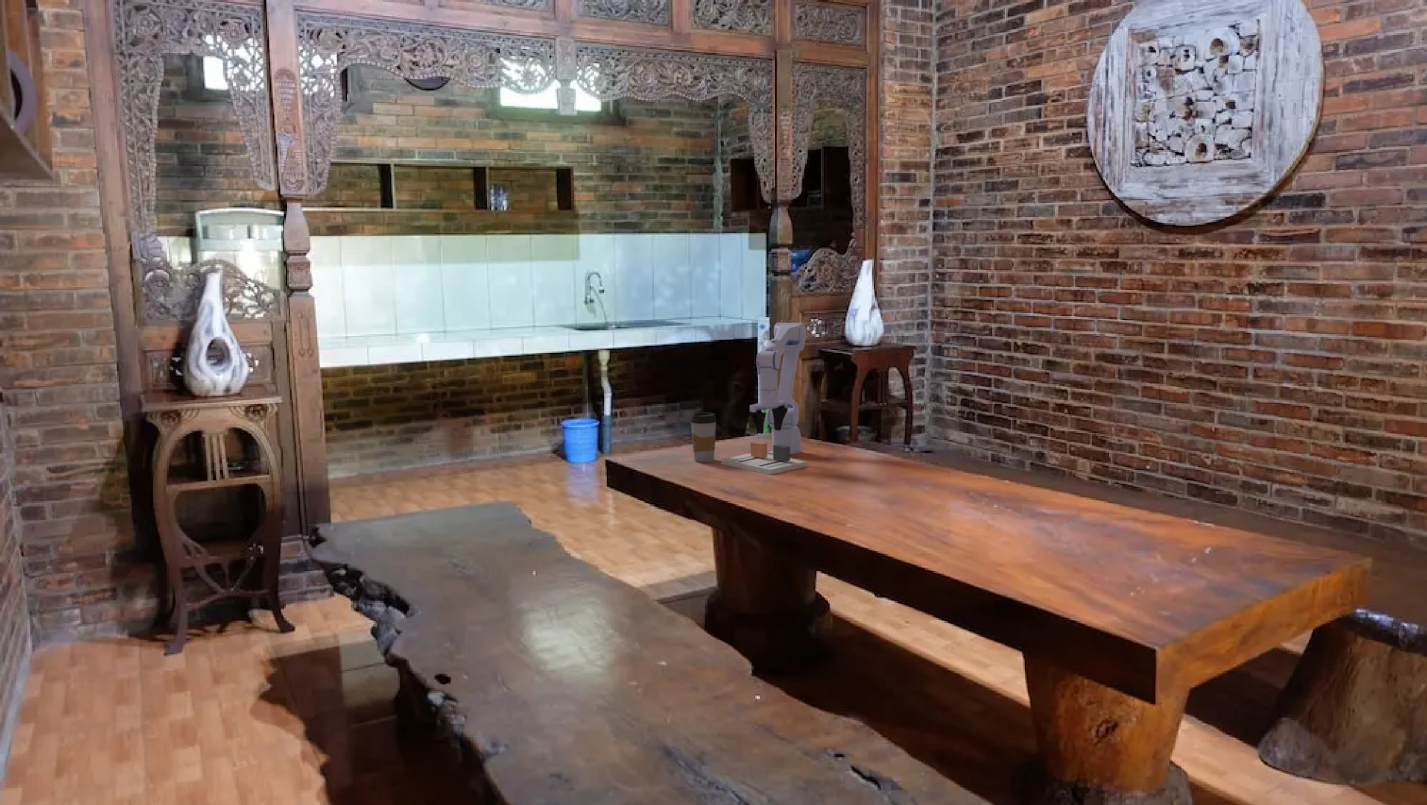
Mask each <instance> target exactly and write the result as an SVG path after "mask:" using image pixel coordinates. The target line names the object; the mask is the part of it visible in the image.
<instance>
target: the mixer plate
mask: <svg viewBox="0 0 1427 805" xmlns="http://www.w3.org/2000/svg"><path fill="white" fill-rule="evenodd" d="M720 464H721V465H723V466H728V467H733V468H738V469H743V470H747V471H751V472H755V473H756V472H757V473H761V474H765V475H775V474H779V473H783V472H784V473H785V472H787V471H791V470H792V471H793V470H797V469H801V468H805V467H808V461H805V460H801V459H795V458H791V457H790V461H786V462H784V461H779V460H774V459H773V454H768V453H767V457H765V458H759V457H754V456H751V452H750V453H746V454H741V455H735V456H731V457H725V458H721V459H720Z"/></svg>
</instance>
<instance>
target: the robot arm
mask: <svg viewBox="0 0 1427 805" xmlns="http://www.w3.org/2000/svg"><path fill="white" fill-rule="evenodd" d="M773 337H774V338H771V340H768V342H767V344H766V345H765V347H764V350H760V351H759V352H758V353H757V354H756V360H755V361H756V362H755V364H756V368H757V375H758V383H759V385H758V386H759V391H758V392H759V394H758V395H759V401H758V403H755V404H750V405H749V415H750V416H751V418H752V420H753V423H754V425H755V430H756V433H757V434H760V435H763V434H764V433H765V432H764V431H765V421H766V423H767V424H768V425H769V427H770V428H771V450H767V454H771V455H773V446H774V445H778V444H779V445H784V446H790V456H793V455H796V454H799V453H803V450H802V446H801V445H802V444H801V442H802V441H801V439H802V438H801V437H802V435H801V430H800V428H799V426H797V425H798V423H799V420H800V419H799V418H800V414H799V413H800V407H799V403H798V402H797V401H796V400H794V398H793V392H794V386H795V379H796V372H797V366H798V358H799V354H800V352H802V351H803V350H804V348H805V346H806V340H807V338H806V337H807V327H806V324H805V323H804V322H779V321H778V322H776V323H775V325H774V327H773ZM782 356H783V358H782ZM781 361H782V365H781ZM780 365H781V372H780V379H779V381H778V376H779V375H778V369H779V368H780ZM778 382H779V386H778ZM764 411H766V412H764ZM765 419H766V420H765Z"/></svg>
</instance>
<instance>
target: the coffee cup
mask: <svg viewBox="0 0 1427 805" xmlns="http://www.w3.org/2000/svg"><path fill="white" fill-rule="evenodd" d="M715 415H716V414H715V413H712V412H696V413H692V414H691V417H690V426H691V440H692V449H693V459H694V461H695V462H697V463H711V462H714V459H715V450H716V426H717V425H716V424H717V423H716V422H717V417H716V416H715Z"/></svg>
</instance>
